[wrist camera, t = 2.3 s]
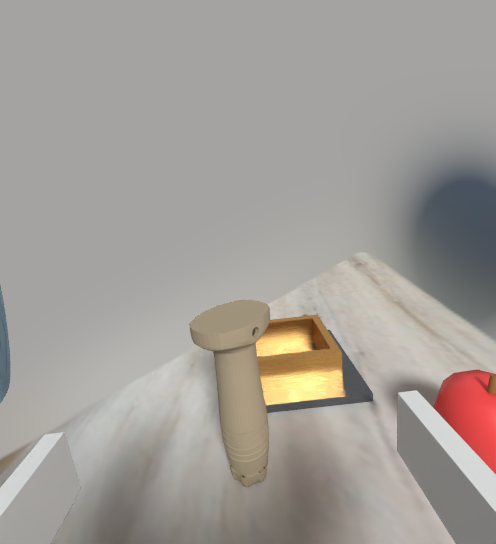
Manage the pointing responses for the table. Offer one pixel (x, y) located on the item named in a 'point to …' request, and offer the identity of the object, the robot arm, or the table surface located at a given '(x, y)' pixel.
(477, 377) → the apple
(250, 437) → the handle
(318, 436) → the table surface
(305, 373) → the socket
